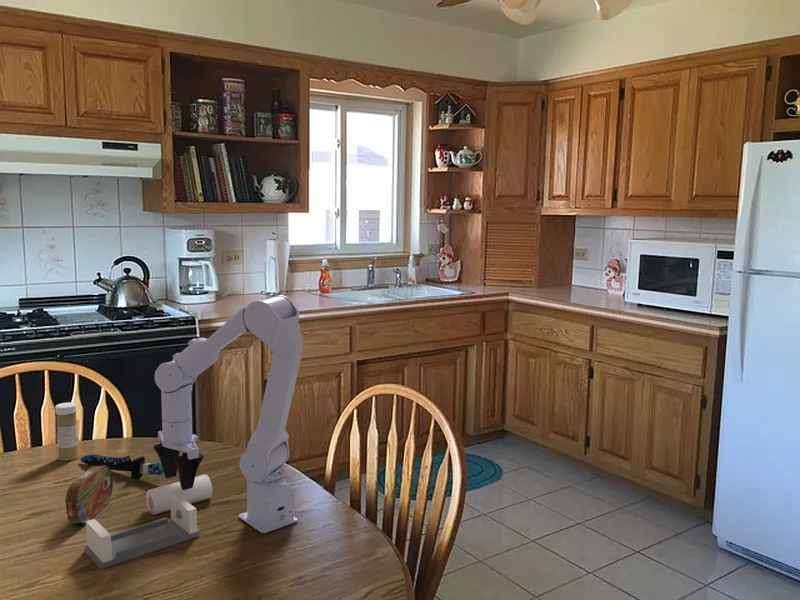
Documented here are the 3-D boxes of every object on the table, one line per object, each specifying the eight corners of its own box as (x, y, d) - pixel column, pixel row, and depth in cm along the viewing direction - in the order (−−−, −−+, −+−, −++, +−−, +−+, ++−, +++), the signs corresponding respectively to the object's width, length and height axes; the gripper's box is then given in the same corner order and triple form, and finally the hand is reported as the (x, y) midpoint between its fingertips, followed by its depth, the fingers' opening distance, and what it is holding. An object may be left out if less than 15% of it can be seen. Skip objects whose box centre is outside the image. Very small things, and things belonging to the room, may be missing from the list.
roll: (213, 501, 141) (212, 478, 141) (156, 518, 133) (155, 495, 132) (202, 493, 145) (201, 471, 144) (145, 509, 137) (145, 486, 136)
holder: (199, 535, 126) (199, 507, 125) (100, 569, 114) (98, 538, 113) (181, 520, 132) (180, 494, 131) (84, 551, 120) (82, 522, 119)
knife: (181, 480, 148) (178, 460, 148) (170, 484, 146) (168, 464, 145) (91, 467, 163) (89, 449, 163) (80, 471, 161) (78, 453, 160)
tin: (80, 531, 127) (77, 489, 126) (63, 531, 127) (61, 488, 126) (115, 497, 142) (113, 459, 141) (100, 497, 142) (98, 458, 141)
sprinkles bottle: (65, 454, 166) (62, 401, 164) (82, 455, 166) (80, 402, 164) (54, 461, 162) (50, 406, 160) (72, 462, 161) (69, 407, 159)
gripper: (212, 423, 134) (213, 488, 136) (179, 406, 145) (181, 467, 146) (178, 430, 129) (180, 498, 131) (147, 413, 140) (149, 475, 142)
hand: (178, 482), depth 138 cm, fingers open, 7 cm apart
